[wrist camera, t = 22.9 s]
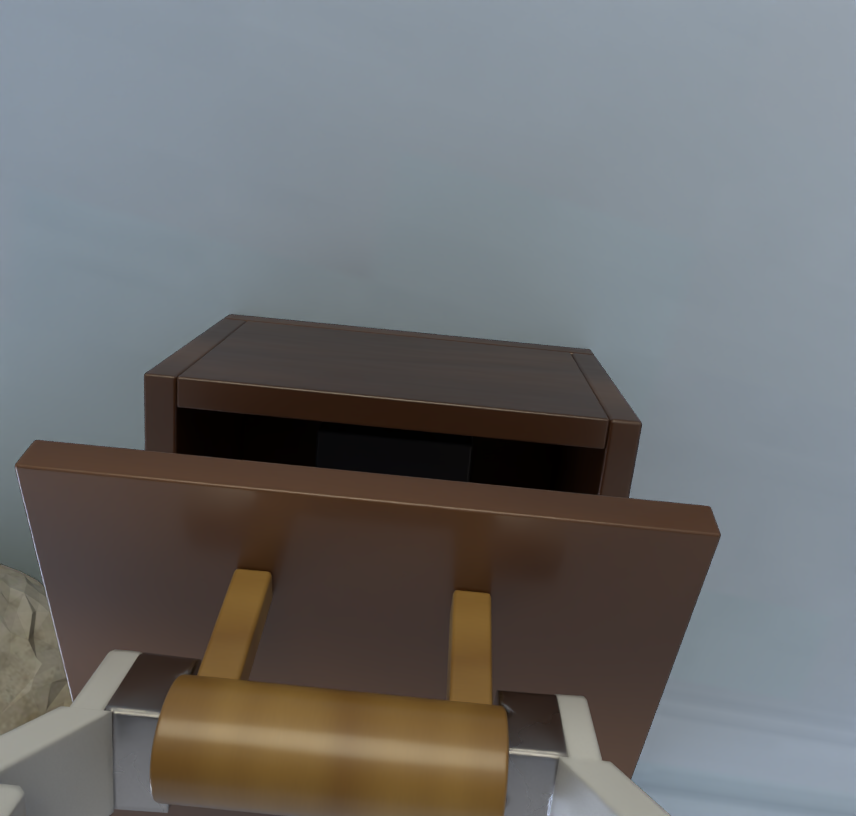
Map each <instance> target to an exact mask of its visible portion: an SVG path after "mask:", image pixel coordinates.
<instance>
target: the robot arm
mask: <svg viewBox="0 0 856 816" xmlns="http://www.w3.org/2000/svg"><path fill="white" fill-rule="evenodd" d="M200 665H201V660H200V659H194V658H186V657H178V656H170V655H162V654H154V653H146V652H144V653H142V652H137V651H127V650H117V649H115V650H112V651H110V652H109V653H108V654H107V655H106V657H105V658H104V659H103V661H102V662H101V664H100V665H99V666H98V668H97V669H96V671H95V672H94V673H93V675H92V676H91V678H90V679H89V680H88V682H87V683H86V685H85V686H84V687H83V689H82V690H81V692H80V693H79V694H78V696H77V697H76V699H75V700H74V701H73V703H72V704H71V705H70V707H65V706H60V707H58V708H56V709H54V710H52V711H50V712H48V713H46V714H44V715H42V716H40V717H38V718H36V719H33V720H31V721H29V722H27V723H25V724H23V725H21V726H19V727H17V728H15V729H13V730H11V731H9V732H7V733H5V734H3V735H0V816H109V815H111V814H112V813H113V812H114V809H120V810H134V811H148V812H162V813H168V811H169V809H170V807H171V804H161V803H157V802H155V801H154V800H153V798H152V795H151V791H150V760H151V752H152V745H153V740H154V735H155V730H156V726H157V722H158V718H159V715H160V712H161V709H162V706H163V703H164V700H165V698H166V695H167V693H168V691H169V689H170V687H171V685H172V684H173V682H174V681H175V679H176V678H177V677H178V676H180V675H183V674H188V675H197V673H198V670H199V668H200ZM494 705H500V706H503V707H505V710H506V713H507V718H508V729H509V766H508V784H507V796H506V805H505V813H504V816H671V815H670V814H669V813H667V812H666V811H665V810H664V809H663V808H662V807H661V806H660V805H658V804H657V803H656V802H655V801H654V800H653V799H652V798H651V797H650V796H648V795H647V794H646V793H645V792H644V791H643V790H642V789H641V788H639V787H638V786H637V785H636V784H635V783H634V782H633V781H632V780H631V779H629V778H628V777H627V776H626V775H625V774H624V773H623V772H622V771H620V770H619V769H618V768H617V767H616V766H615V765H614V764H613V763H611V762H609V761H602V757H601V753H600V750H599V746H598V742H597V738H596V734H595V730H594V726H593V722H592V718H591V714H590V710H589V706H588V702H587V699H586V698H585V697H584V696H575V695H560V694H555V695H550V694H539V693H527V692H516V691H504V690H497V691H496V696H495V701H494Z"/></svg>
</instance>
